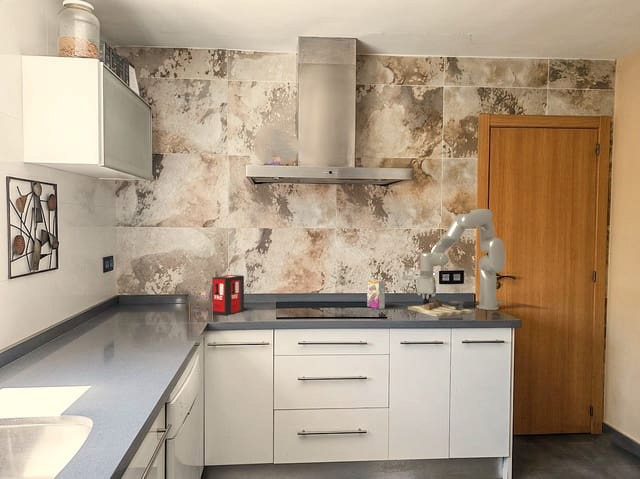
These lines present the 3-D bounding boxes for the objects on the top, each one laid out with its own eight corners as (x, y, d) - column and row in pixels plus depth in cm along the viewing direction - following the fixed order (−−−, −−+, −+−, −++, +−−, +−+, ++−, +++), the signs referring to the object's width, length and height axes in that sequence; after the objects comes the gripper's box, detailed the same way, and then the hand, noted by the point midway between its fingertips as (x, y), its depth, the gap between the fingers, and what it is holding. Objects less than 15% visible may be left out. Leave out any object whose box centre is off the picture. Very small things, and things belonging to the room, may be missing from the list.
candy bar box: (366, 306, 296) (366, 279, 296) (372, 306, 299) (373, 279, 299) (378, 309, 287) (379, 281, 286) (385, 308, 290) (385, 280, 289)
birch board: (441, 306, 301) (441, 303, 301) (472, 312, 279) (472, 310, 279) (407, 309, 289) (407, 306, 288) (436, 316, 266) (436, 313, 266)
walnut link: (435, 304, 297) (435, 298, 297) (443, 305, 294) (443, 298, 294) (422, 308, 280) (422, 302, 280) (430, 309, 277) (431, 303, 277)
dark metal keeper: (458, 308, 284) (458, 300, 284) (463, 309, 280) (464, 301, 280) (447, 309, 280) (447, 301, 280) (452, 310, 276) (452, 302, 276)
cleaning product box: (225, 315, 262) (225, 278, 261) (212, 314, 266) (212, 277, 265) (243, 311, 277) (243, 275, 276) (230, 309, 280) (230, 274, 280)
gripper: (441, 274, 285) (440, 306, 286) (417, 272, 293) (416, 303, 294) (437, 275, 279) (436, 307, 279) (412, 273, 287) (411, 305, 287)
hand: (426, 305), depth 287 cm, fingers closed
